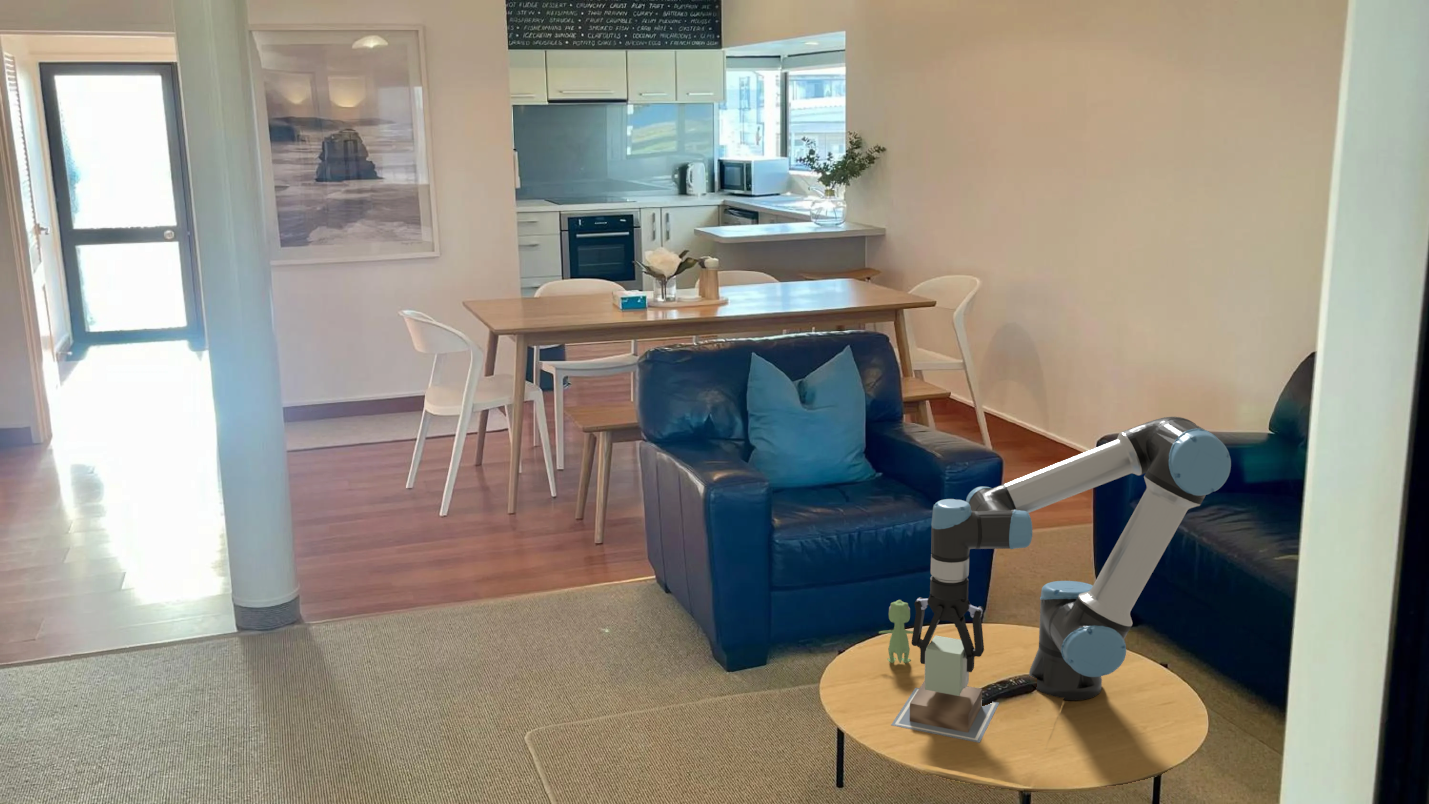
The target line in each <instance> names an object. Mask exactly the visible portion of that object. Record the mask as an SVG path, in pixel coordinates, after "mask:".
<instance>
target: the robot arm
mask: <svg viewBox="0 0 1429 804" xmlns="http://www.w3.org/2000/svg"><path fill="white" fill-rule="evenodd" d="M1231 467H1232V459H1231V456H1230V452H1229V450H1228V448H1227V446H1226V445H1225V443H1224V442H1223V441H1222V440H1220V439H1219V438H1218V437H1217V436H1216V435H1215V434H1213V433H1212V432H1210V431H1209V430H1207V429H1205V428H1203V427H1201V426H1199V425H1197V424H1196V423H1195V422H1193V421H1192V420H1189V419H1188V418H1184V417H1181V416H1165V417H1160V418H1156V419H1153V420H1151V421H1149V420H1148V421H1147V422H1144V423H1141V424H1139V425H1136V426H1133V427H1130V428H1128V429H1127V430H1126V429H1125V430H1123V431H1120V432H1119V433H1118V435H1117V438H1115V439H1114V440H1112V441H1109V442H1107V443H1103V444H1101V445H1099V446H1096V447H1093V448H1091V449H1089V450H1086V451H1084V452H1081V453H1079V454H1076V455H1074V456H1072V457H1069V458H1066V459H1064V460H1061V461H1059V462H1056V463H1053V464H1051V465H1048V466H1046V467H1044V468H1041V469H1038V470H1036V471H1033V472H1031V473H1028V474H1025V475H1023V476H1021V477H1018V478H1016V479H1013V480H1011V481H1009V482H1006V483H1003V484H1001V485H1000V484H999V485H998V486H995V487H993V488H992V487H989V486H977V487H975V488H973V489H972V490H971V491H970V492H969V493H968V494H967V496H966V500H962V499H954V498H946V499H941V500H938V501H937V502H935V504H933V507H932V513H931V514H932V516H931V523H930V525H931V536H930V537H931V542H930V543H931V548H930V550H931V551H930V552H931V554H930V575H931V576H930V578H929V579H930V582H929V584H930V585H929V590H930V591H929V597H928V598H923V597H921V596H920V597H917V599H916V600H915V602H914V603H913V605H914V609H915V616H914V623H913V629H912V631H913V634H912V637H911V646H913V647H917V648H919V650H920V658H919V660H920V664H921V665H924V672H925V671H926V648H927V647H928V645H929V644H930V642H931V641H932V639H933V635H935V634H934V633H935V632H936V629H937V628H938V625H939V622H940V621H948V622H950V623H951V622H952V623H954V626H955V628H956V629H957V632H958V635H959V638H960V640H961V641H962V644H963V647H964V650H965V655H964V657H963V667H962V688H966V686H968V685H969V683H970V682H969V679H970V673H972V672H973V671H974V668H975V657H978V658H980V657H982V655H983V653H984V652H985V643H984V635H983V634H984V633H983V625H982V624H983V623H982V616H983V612H984V607H983V606H980V605H979V606H978V607H977V606H974V605H972V604H971V603H970V601H969V578H968V577H969V573H970V550H973V549H975V550H981V549H982V550H983V549H984V550H987V549H990V550H991V549H992V550H997V549H998V550H999V549H1001V550H1005V549H1007V550H1009V549H1010V550H1014V549H1025V548H1028V547H1029V546H1030V545H1031V543H1032V540H1033V521H1032V518H1031V516H1030V515H1031V514H1030V513H1032V512H1035V511H1037V510H1040V509H1043V508H1046V507H1047V506H1051V505H1052V504H1055V503H1057V502H1061V501H1063V500H1065V499H1066V500H1067V499H1069V498H1071V497H1074V496H1076V495H1078V494H1080V493H1081V494H1082V493H1084V492H1087V491H1089V490H1091V489H1094V488H1097V487H1099V486H1101V485H1105V484H1107V483H1110V482H1112V481H1114V480H1118V479H1121V478H1122V477H1125V476H1128V475H1131V474H1133V475H1136V476H1142V475H1144V476H1143V478H1144V482H1145V485H1146V488H1145V490H1144V492H1143V494H1142V496H1141V498H1140V499H1139V502H1138V504H1137V505H1136V507H1135V508H1134V510H1133V512H1132V515H1131V516H1130V517H1129V520H1128V522H1127V523H1126V525H1125V527H1124V529H1123V531H1121V532H1122V533H1121V534H1120V535H1119V538H1118V540H1117V541H1116V543H1115V545H1114V547H1113V548H1112V550H1111V552H1110V554H1109V556H1108V557H1107V560H1106V561H1105V563H1104V565H1103V566H1102V568H1101V570H1100V572H1099V574H1098V576H1097V578H1096V580H1095V581H1094V583H1093V584H1090V583H1087V582H1083V581H1076V580H1057V581H1055V580H1054V581H1051V582H1047V583H1046V584H1043V586H1042V587H1041V592H1040V597H1039V600H1040V603H1039V606H1040V607H1039V609H1040V610H1039V628H1038V629H1039V631H1038V633H1039V634H1038V649H1037V652H1036V653H1035V656H1034V659H1033V661H1032V664H1031V666H1030V669H1029V673H1028V677H1029V676H1032V677H1034V678H1037V687H1036V689H1035V690H1037V691H1038V692H1040V693H1043V694H1045V695H1047V696H1048V695H1049V696H1051V697H1056V698H1060V699H1061V698H1062V699H1063V700H1065V701H1082V700H1088V699H1091V698H1094V697H1096V696H1098V695H1099V694H1100V693H1101V691H1102V683H1103V682H1102V681H1103V680H1102V677H1103V676H1108V675H1110V674H1113V672H1115V671H1117V670H1118V669H1119V668H1120V667H1121V666H1122V664H1123V663H1124V661H1125V658H1126V656H1127V644H1126V640H1125V639H1126V637H1127V635H1128V633H1129V631H1130V630H1131V628H1132V626H1133V620H1132V617H1131V611H1132V609H1133V608H1134V606H1135V604H1136V602H1137V600H1138V598H1139V597H1140V595H1142V594H1141V593H1142V591H1143V590H1144V588H1145V586H1146V584H1147V583H1148V581H1149V579H1150V578H1151V576H1152V573H1154V570H1155V569H1156V567H1157V565H1158V563H1159V562H1160V560H1161V558H1162V556H1163V555H1164V553H1165V551H1166V549H1167V547H1168V546H1169V544H1170V542H1171V540H1172V539H1173V537H1174V535H1175V533H1176V531H1177V530H1178V527H1179V526H1180V524H1181V523H1182V521H1183V519H1184V517H1185V516H1186V513H1187V512H1188V510H1190V509H1193V508H1196V507H1200V506H1201V505H1202V503H1203V501H1204V499H1205V497H1206V495H1210V494H1211V493H1213V492H1216V491H1218V490H1219V489H1221V488H1222V487H1223V486H1224V484H1225V483H1227V480H1228V478H1229V476H1230V473H1231V469H1232V468H1231ZM928 607H929V608H930V609H931V611H932V613H933V616H932V619H930V624H929V626H928V627H927V630H926V631H925V635H924V637H923V639H922V638H921V637H922V632H923V631H922V630H923V624H924V618H925V610H926V609H927V608H928ZM967 612H969V614H970V617H971V618H972V630H973V640H972V638H971V635H970V632H969V629H968V626H967V623H966V619H965V614H966V613H967ZM973 642H974V644H973ZM924 681H925V679H924V680H923V682H924Z"/></svg>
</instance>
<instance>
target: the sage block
mask: <svg viewBox="0 0 1429 804" xmlns="http://www.w3.org/2000/svg"><path fill="white" fill-rule="evenodd" d="M964 655H965V650H964V647H963V644H962V641H961V638H960V639H959V638H952V637H947V636H941V635H935V634H934V637H932V638H931V640H930V643H929V645H928V647H927V648H926V671H925V670H924V680H925V690H930V691H935V692H941V693H946V694H951V695H957V696H959V695H960V693H961V692H962V690H963V688H962V667H963V657H964Z"/></svg>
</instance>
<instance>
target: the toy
mask: <svg viewBox="0 0 1429 804" xmlns="http://www.w3.org/2000/svg"><path fill="white" fill-rule="evenodd" d="M910 618H911V608H910V606H909V603H908V602H904V601H902V599H898V600H896V601H893V602H891V603H890V606H889V607H888V619H889V621H890V622H891V623H893V624H894V627H893V629H889V630H880V631H878V634H891V636H890V639H889V643H888V656H889V657H887V661H888V662H889V663H891V664H894V663H895V661H896V660H898V662H899V664H901V663H902V662H903V663H904V664H908V663H910V662H911V658H909V656H910V652H911V651H910V650H911V649H910V645H909V644H910V643H909V638H908V635H909V634H911V635H913V630H912V631H911V630H908V629H907V630H906V629H905V624H907V623H908V622H909V621H910ZM894 654H896V657H897V658H896V657H894Z"/></svg>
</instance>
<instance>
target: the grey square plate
mask: <svg viewBox="0 0 1429 804" xmlns="http://www.w3.org/2000/svg"><path fill="white" fill-rule="evenodd" d="M919 688H920V687H915V688H914V689H913V691H911V694H910V695H909V697H908V699H907V700H906V701H905V703H904V704H903V706H902V708H901V709H900V711H898V714H897V715H896V717H895V718H894V720H893V722H892V723H891V724H890V726H894V727H898V728H903V729H908V730H914V731H918V732H924V733H927V734H928V733H929V734H932V735H933V734H934V735H939V736H943V737H948V738H949V737H950V738H952V739H953V738H954V739H960V740H962V741H963V740H964V741H969V742H973V743H981V741H982V739H983V737H984V735H985V733H986V731H987V729H988V726H989V724H990V722H991V721H992V719H993V717H994V715H995V712H996V711H997V709H998V707H999V705H1000V702H997V701H996V702H995V701H992V703H990V704H988V705H985V706H982V707H981V709H980V711H979V713H978V714H977V716H976V718H975V720H974V722H973V724H972V726H971V728H970V730H969V732H968V733H967V732H962V731H957V730H952V729H947V728H942V727H937V726H932V725H927V724H921V723H916V722H911V721H910V702H911V701H912V699H913V698H914V696H915V695H916V693H917V691H918V690H919Z"/></svg>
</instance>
